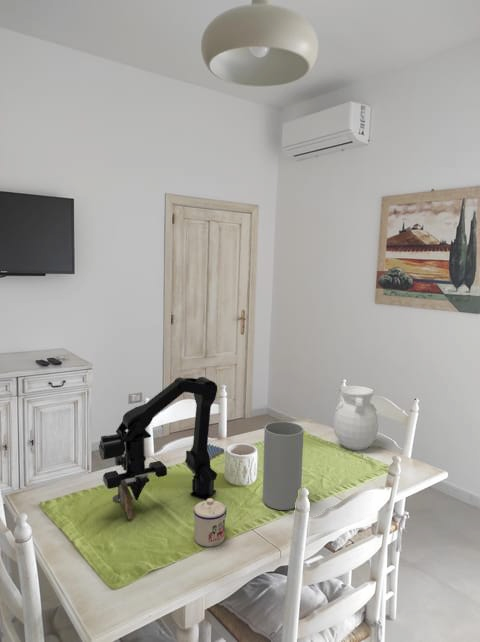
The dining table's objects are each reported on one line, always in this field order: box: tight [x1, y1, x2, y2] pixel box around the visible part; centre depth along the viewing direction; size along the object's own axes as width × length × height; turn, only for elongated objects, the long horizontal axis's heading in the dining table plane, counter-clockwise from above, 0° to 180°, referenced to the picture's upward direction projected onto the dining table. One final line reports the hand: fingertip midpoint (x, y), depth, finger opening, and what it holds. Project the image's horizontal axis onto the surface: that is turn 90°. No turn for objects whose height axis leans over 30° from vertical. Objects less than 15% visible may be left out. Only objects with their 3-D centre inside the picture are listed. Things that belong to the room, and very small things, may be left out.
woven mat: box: [207, 443, 225, 461], centre depth 196 cm, size 10×11×2 cm
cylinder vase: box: [262, 421, 305, 511], centre depth 157 cm, size 12×12×25 cm
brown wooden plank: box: [119, 480, 134, 520], centre depth 150 cm, size 14×2×6 cm, turn 25°
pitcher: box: [333, 385, 379, 451], centre depth 205 cm, size 19×18×25 cm
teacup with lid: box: [193, 497, 228, 547], centre depth 138 cm, size 12×9×12 cm
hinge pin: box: [112, 487, 122, 504], centre depth 158 cm, size 5×5×7 cm
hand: (136, 499), depth 151 cm, fingers closed
